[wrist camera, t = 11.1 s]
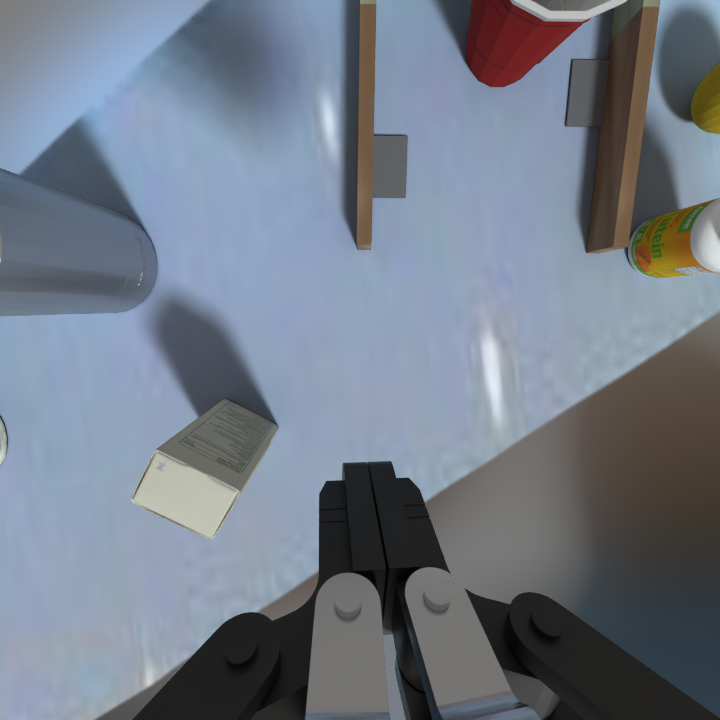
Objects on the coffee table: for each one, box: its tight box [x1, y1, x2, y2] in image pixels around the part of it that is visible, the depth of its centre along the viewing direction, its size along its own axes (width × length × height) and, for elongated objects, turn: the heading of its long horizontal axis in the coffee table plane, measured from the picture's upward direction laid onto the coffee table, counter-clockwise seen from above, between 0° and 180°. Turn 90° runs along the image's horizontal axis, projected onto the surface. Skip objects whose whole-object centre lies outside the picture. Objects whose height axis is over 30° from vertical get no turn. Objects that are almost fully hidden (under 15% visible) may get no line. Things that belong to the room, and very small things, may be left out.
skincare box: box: [131, 399, 278, 540], centre depth 29 cm, size 6×4×12 cm
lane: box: [357, 0, 660, 253], centre depth 28 cm, size 22×24×5 cm
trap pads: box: [372, 60, 609, 198], centre depth 30 cm, size 22×6×1 cm, turn 109°
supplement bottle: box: [628, 198, 720, 278], centre depth 27 cm, size 5×5×10 cm
